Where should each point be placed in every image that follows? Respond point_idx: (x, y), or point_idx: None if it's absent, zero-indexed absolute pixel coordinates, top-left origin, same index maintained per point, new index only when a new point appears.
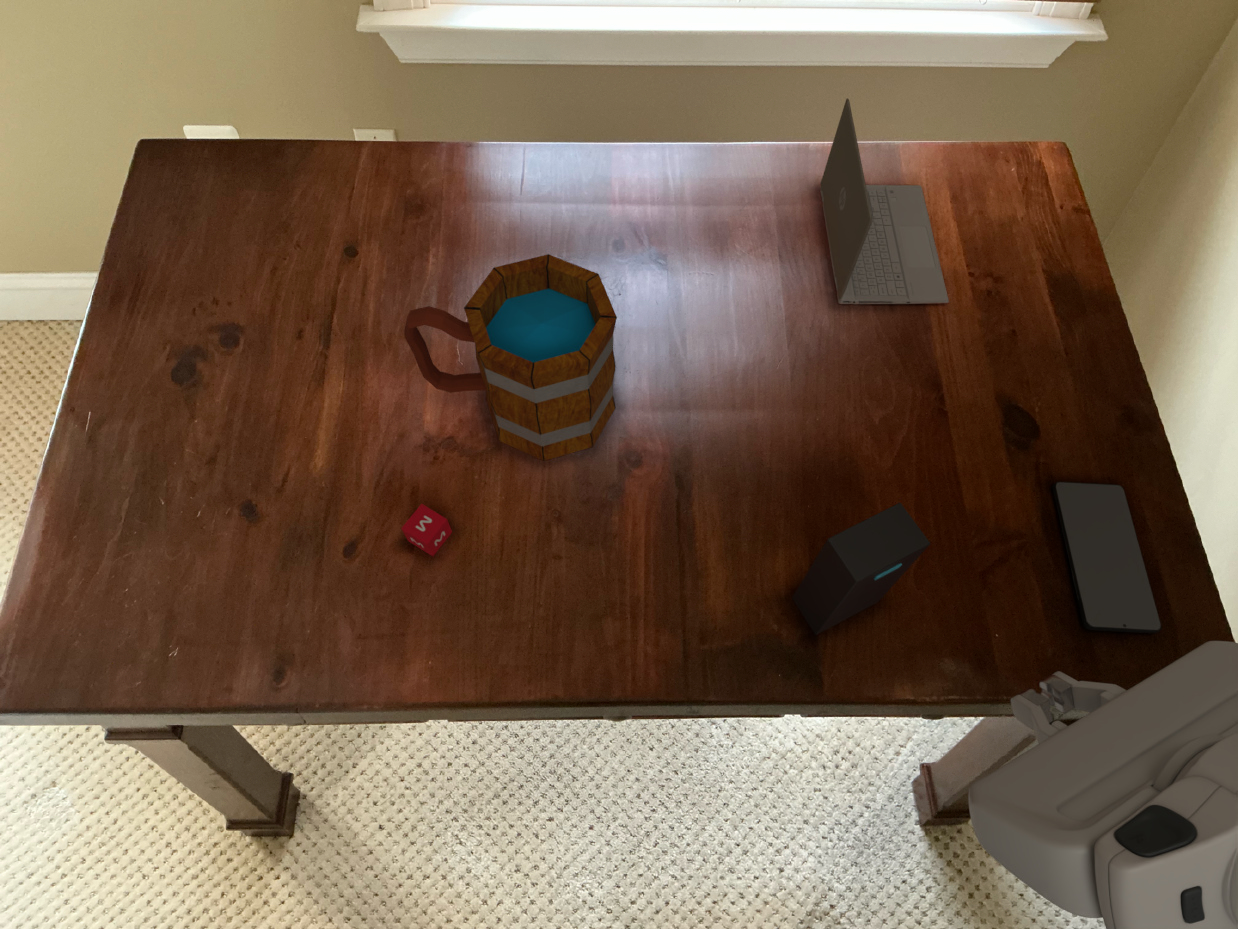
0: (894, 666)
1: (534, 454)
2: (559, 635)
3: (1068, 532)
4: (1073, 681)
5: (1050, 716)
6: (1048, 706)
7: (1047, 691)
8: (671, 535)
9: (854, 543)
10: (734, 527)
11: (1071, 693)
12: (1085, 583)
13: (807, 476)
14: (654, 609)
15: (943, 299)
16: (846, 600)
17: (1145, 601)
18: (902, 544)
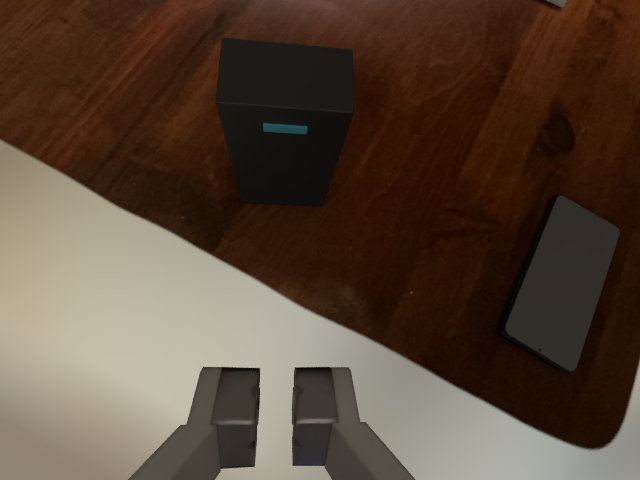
0: (295, 267)
1: None
2: (12, 80)
3: (542, 241)
4: (349, 413)
5: (248, 456)
6: (246, 436)
7: (295, 396)
8: (178, 56)
9: (252, 60)
10: None
11: (329, 436)
12: (527, 292)
13: None
14: (114, 104)
15: (560, 2)
16: (238, 153)
17: (575, 339)
18: (314, 94)
